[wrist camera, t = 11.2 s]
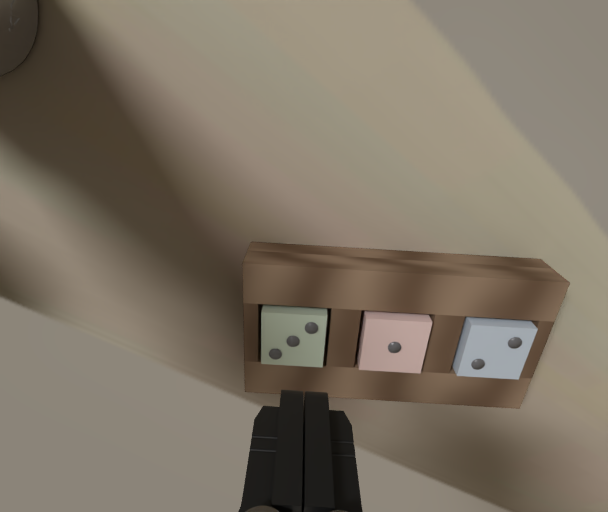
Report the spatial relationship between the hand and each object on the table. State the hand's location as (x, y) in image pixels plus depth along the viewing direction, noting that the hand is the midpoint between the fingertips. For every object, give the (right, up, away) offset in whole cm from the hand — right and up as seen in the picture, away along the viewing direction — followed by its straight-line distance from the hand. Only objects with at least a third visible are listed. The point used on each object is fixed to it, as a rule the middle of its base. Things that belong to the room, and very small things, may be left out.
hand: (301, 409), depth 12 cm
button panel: (+6, 0, +18) cm, 19 cm away
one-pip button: (+6, 0, +16) cm, 17 cm away
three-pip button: (-1, 0, +16) cm, 16 cm away
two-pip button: (+13, -1, +16) cm, 21 cm away
